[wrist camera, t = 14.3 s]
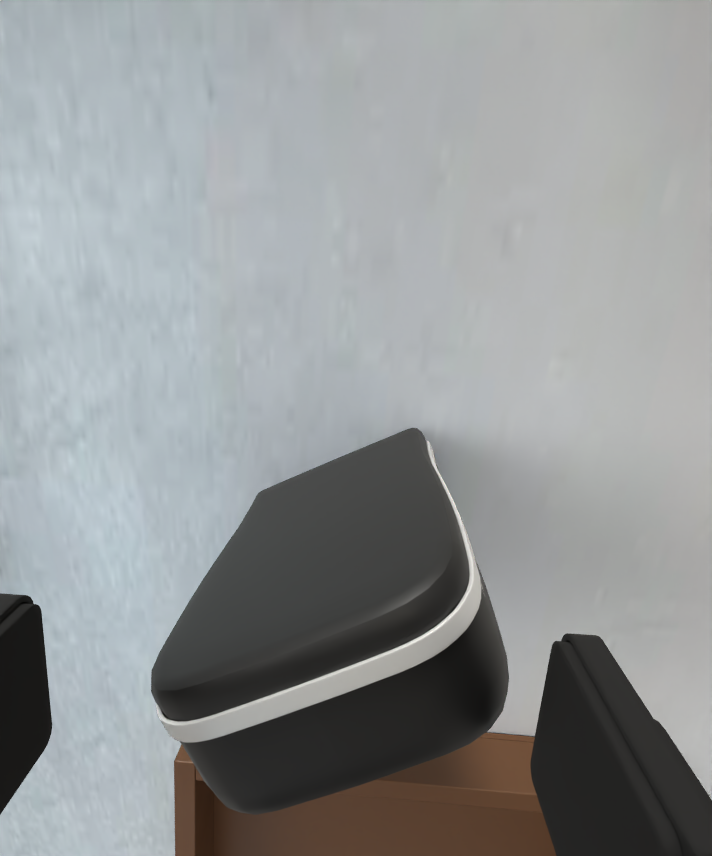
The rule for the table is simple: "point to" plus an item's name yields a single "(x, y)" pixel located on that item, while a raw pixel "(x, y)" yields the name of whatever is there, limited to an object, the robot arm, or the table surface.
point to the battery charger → (335, 635)
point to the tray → (383, 811)
